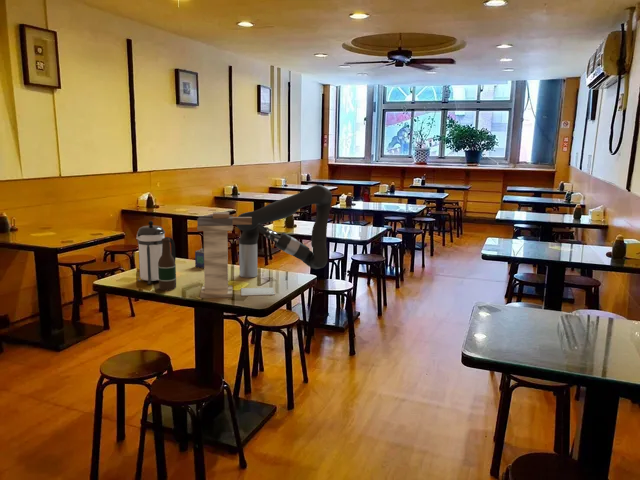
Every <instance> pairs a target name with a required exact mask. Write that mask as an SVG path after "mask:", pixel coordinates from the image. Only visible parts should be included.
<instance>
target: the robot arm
mask: <svg viewBox="0 0 640 480" xmlns="http://www.w3.org/2000/svg"><path fill="white" fill-rule="evenodd" d="M332 200H333V194H332V192H331V190H330V189H328V188H327V187H325V186H324V185H322V184H315V185H313V186H311V187H309V188H307V189H304V190H303V191H301V192H298V193H296V194H293V195H289V196H287V197H285V198H281V199H279V200H276V201H274V202H272V203H269V204H267V205H264V206H263V207H261V208H259V209H255V210H253V211H247V212H243V213H240V214H239V215H238V216H237V217H252V224H249V225H235V226H236V227H237V229H239V230H240V231H242V233H241V236H240V237H239V239H238V240H239V241H238V242H239V243H238V248H239V253H238V254H239V255H238V256H239V257H238V258H239V264H238V265H239V277H241V278H245V279H247V278H250V279H251V278H255V277H257V276H258V240H259V236H260V235H259V234H262V235H263V236H264V237H265V238H266V239H268V240H270V241H272V242H274V243H275V247H276V248H277V249H279V250H280V251H282V252H285V253H286V254H288V255H290V256H293V257H294V258H296V259H298V260H300V261H302V262H303V263H304V264H305V265H306V266H308V267H309V268H311V269H314V270H319V269H323V268H325V266H326V265H327V264H328V249H327V236H328V233H327V231H328V221H329V215H330V211H331V206H332ZM310 205H316V217H315V221H314V223H313V227H312V229H311V243H310V244H311V248H313V251H311V250H310V248H309V246H307V245H306V244H303V243H302V242H300V241H299V240H298V239H296V238H295V237H293V236H291V235H290V234H287V233H285V232H281V233H280V234H278V232H277V231H276V230H275V231H274V230H273V229H271V228H269V227H267V226H264V225H263V224H266V223H272V222H275V221H280V220H283V219H285V218H286V219H287V218H288V217H291V216H294V214H296V213H297V212H298V211H299V210H300V209H302V208H304V207H307V206H310Z"/></svg>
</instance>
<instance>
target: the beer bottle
mask: <svg viewBox="0 0 640 480" xmlns="http://www.w3.org/2000/svg"><path fill="white" fill-rule="evenodd" d="M170 238H171V237H169V238H165V237H164V238H163V239H162V256H161V257H160V259H159V262H158V274H159V280H158V288H159V290H161V291H172V290H175V289H176V288H177V274H176V273H177V271H176V259H175V260H174V258H173V257H172V255H171V243H170Z"/></svg>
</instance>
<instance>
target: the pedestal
mask: <svg viewBox="0 0 640 480" xmlns="http://www.w3.org/2000/svg"><path fill="white" fill-rule="evenodd" d="M229 217H234V216H233V215H229ZM196 220H197V227H196V228H197V232H203V252H204V268H203V269H204V271H203V272H204V285H202V286H201V290H200V293H199V298H200V299H218V298H219V299H220V298H223V299H224V298H233V288H234V287H233V284H231V285H229V263H228V262H229V259H228V258H229V255H228V254H229V253H228V250H229V248H228V246H229V245H228V232H229V231H230V232H231V231H233V230H234V229H233V227H234V225H233V219H213V215H198V218H196Z"/></svg>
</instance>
